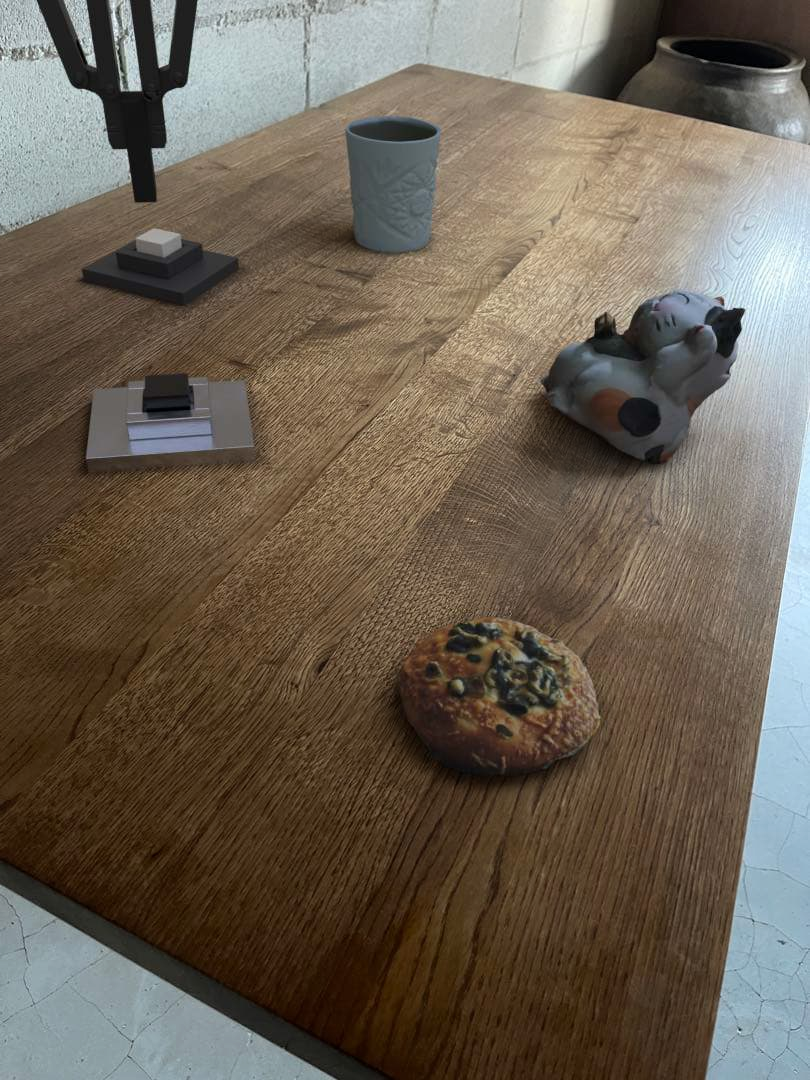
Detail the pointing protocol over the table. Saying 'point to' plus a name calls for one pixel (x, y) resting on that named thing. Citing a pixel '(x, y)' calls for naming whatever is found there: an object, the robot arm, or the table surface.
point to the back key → (158, 242)
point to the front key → (167, 392)
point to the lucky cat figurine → (647, 372)
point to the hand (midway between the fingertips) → (145, 195)
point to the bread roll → (497, 697)
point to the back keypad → (162, 272)
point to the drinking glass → (392, 181)
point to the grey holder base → (169, 428)
